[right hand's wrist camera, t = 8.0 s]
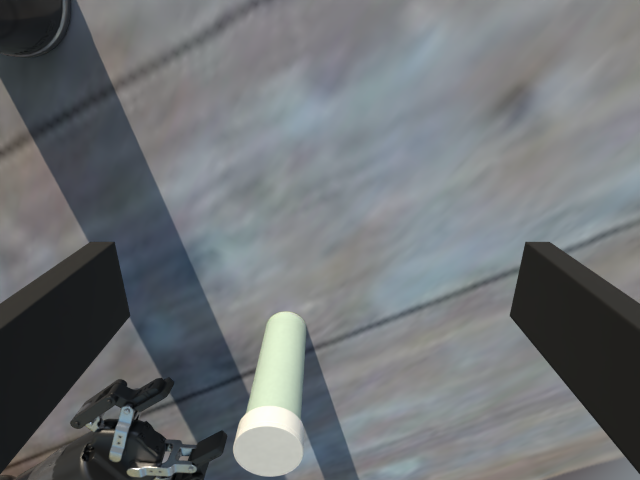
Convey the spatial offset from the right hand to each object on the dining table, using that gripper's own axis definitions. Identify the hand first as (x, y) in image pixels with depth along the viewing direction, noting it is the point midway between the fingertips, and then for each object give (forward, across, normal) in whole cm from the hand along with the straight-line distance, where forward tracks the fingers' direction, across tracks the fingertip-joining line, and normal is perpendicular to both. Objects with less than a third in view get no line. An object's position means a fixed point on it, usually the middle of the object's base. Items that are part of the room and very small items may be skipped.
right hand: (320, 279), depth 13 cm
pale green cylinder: (+25, +4, +19) cm, 32 cm away
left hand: (+18, +12, +25) cm, 33 cm away
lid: (+10, +4, +19) cm, 22 cm away
